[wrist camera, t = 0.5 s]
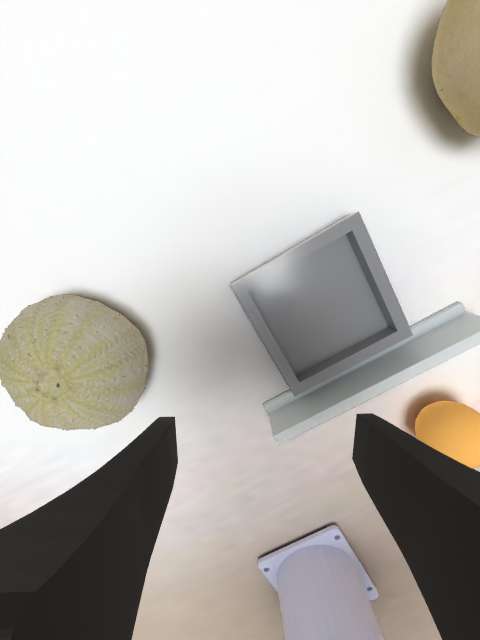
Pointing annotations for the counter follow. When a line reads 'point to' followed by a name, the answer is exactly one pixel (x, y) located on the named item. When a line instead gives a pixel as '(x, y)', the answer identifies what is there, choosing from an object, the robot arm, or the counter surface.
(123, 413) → the sea urchin shell
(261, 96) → the counter surface
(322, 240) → the dish
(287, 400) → the divider
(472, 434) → the ball
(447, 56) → the potato
